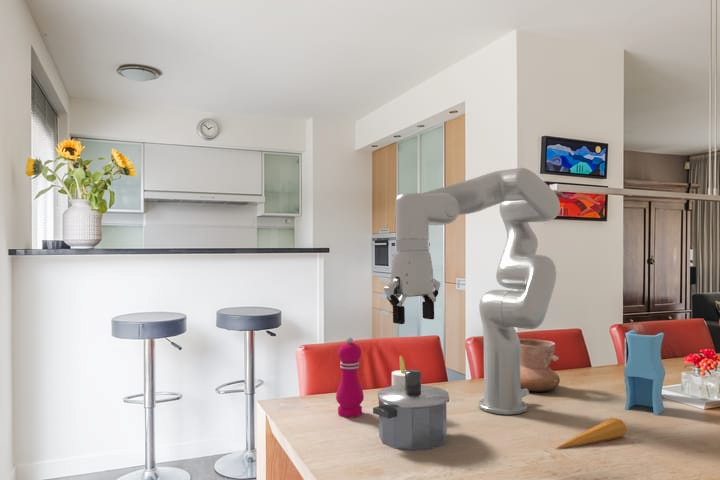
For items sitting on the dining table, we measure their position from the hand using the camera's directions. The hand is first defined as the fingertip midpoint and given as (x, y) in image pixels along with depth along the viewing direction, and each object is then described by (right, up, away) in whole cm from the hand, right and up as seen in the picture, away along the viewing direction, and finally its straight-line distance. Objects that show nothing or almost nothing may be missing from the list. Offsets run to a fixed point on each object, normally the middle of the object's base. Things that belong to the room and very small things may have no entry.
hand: (414, 321), depth 123 cm
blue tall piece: (+63, -26, +19) cm, 71 cm away
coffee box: (+70, -26, +32) cm, 81 cm away
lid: (0, -19, -1) cm, 19 cm away
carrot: (+38, -26, -5) cm, 47 cm away
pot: (0, -26, -1) cm, 26 cm away
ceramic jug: (+40, -27, +40) cm, 63 cm away
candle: (-1, -27, +16) cm, 31 cm away
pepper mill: (-15, -27, +16) cm, 35 cm away
